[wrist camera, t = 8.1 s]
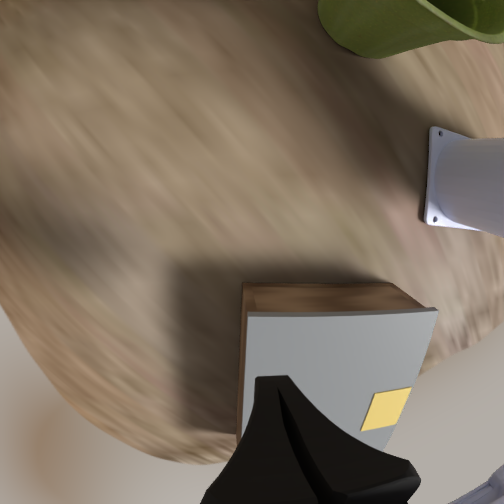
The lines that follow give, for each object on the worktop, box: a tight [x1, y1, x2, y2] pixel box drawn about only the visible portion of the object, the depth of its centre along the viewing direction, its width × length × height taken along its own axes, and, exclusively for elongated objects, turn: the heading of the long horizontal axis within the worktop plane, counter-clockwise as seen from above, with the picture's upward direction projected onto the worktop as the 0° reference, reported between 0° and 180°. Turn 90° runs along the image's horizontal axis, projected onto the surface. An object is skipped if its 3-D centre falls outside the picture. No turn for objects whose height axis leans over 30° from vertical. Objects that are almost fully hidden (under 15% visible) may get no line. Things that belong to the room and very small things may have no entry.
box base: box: [236, 283, 426, 446], centre depth 21 cm, size 12×16×5 cm
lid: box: [241, 307, 439, 452], centre depth 18 cm, size 12×16×1 cm
